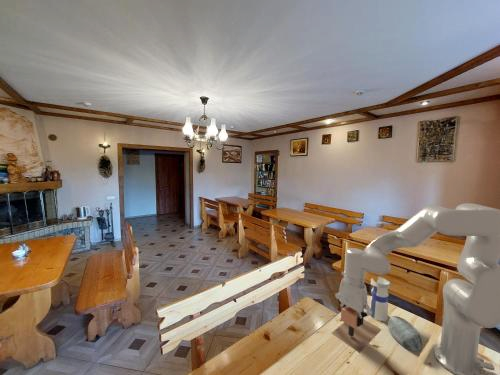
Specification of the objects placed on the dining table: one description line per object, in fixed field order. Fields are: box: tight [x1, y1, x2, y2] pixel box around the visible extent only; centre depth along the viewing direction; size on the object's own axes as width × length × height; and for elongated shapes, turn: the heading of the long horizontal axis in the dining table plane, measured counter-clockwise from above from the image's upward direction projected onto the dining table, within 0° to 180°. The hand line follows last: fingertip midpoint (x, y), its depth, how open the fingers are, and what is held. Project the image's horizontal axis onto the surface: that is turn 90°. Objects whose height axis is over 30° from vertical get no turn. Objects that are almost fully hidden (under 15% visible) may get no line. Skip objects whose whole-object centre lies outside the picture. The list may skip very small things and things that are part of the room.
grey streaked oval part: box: [387, 315, 423, 352], centre depth 88 cm, size 14×10×10 cm
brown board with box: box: [331, 318, 382, 354], centre depth 91 cm, size 20×12×8 cm, turn 127°
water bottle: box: [369, 276, 392, 322], centre depth 101 cm, size 8×9×25 cm
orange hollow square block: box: [340, 306, 359, 329], centre depth 88 cm, size 6×6×5 cm
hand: (351, 319), depth 88 cm, fingers closed on orange hollow square block, 5 cm apart
